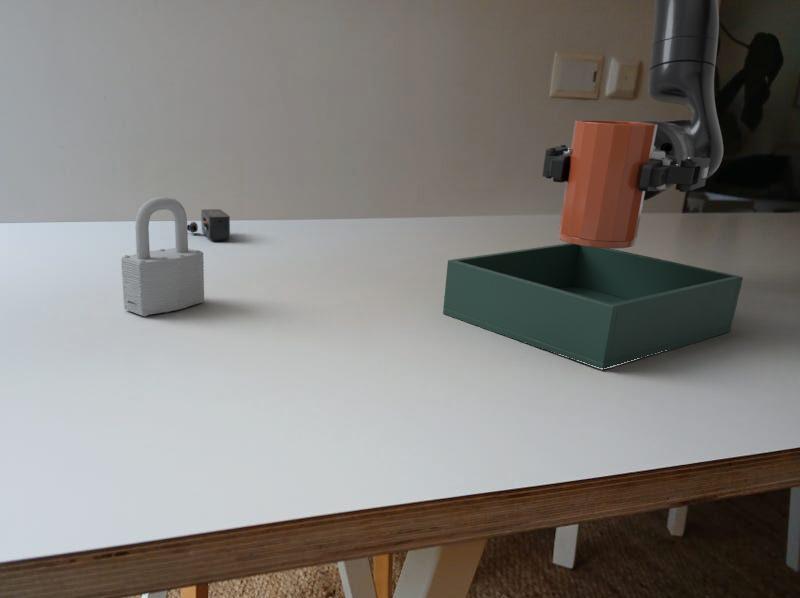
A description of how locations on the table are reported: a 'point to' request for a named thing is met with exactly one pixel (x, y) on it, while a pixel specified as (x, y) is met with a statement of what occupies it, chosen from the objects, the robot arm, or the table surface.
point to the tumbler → (605, 183)
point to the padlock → (162, 266)
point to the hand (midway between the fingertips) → (600, 173)
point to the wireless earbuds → (213, 225)
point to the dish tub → (591, 301)
